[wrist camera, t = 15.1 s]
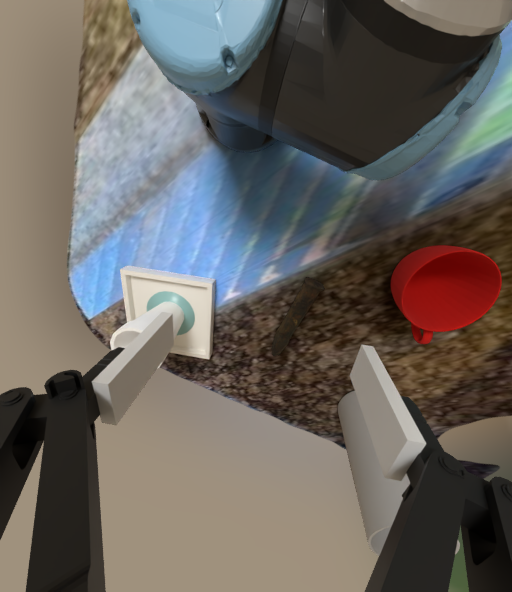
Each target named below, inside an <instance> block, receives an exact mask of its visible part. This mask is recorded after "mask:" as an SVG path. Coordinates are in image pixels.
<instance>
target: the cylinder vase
mask: <svg viewBox="0 0 512 592" xmlns="http://www.w3.org/2000/svg"><path fill="white" fill-rule="evenodd" d="M338 414H339V419H340V423H341V427H342V432H343V436H344V440H345V445H346V449H347V453H348V458H349V462H350V466H351V471H352V475H353V479H354V484H355V488H356V492H357V497H358V501H359V506H360V510H361V514H362V518H363V523H364V527H365V531H366V536H367V540H368V544H369V547H370V549H371V550H372V551H373V552H374V553H375V554H377V555H378V556H380V553H381V551H382V548H383V546H384V543H385V541H386V539H387V536H388V534H389V531H390V529H391V526H392V524H393V521H394V519H395V517H396V514H397V512H398V509H399V507H400V504H401V502H402V500H403V497H402V494H403V493H404V491H405V490H406V489H407V487H408V486H409V484H410V481H409V479H408V476H407V474H406V475H405V476H404V478H403V479H402V481H398V480H393V479H388V478H384V475H383V472H382V469H381V466H380V463H379V460H378V457H377V454H376V451H375V449H374V446H373V443H372V440H371V437H370V434H369V431H368V428H367V425H366V422H365V419H364V416H363V413H362V410H361V407H360V404H359V401H358V398H357V395H356V392H355V391H352V392H350V393H348V394H346V395H345V396H344V397H343V398H342V399H341V400H340V402H339V404H338ZM459 548H460V543H459V541H457V546H456V551H455V554H456V553H457V552H458V550H459Z"/></svg>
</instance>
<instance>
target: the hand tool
mask: <svg viewBox="0 0 512 592" xmlns="http://www.w3.org/2000/svg"><path fill="white" fill-rule="evenodd" d="M324 289H325V288H324V286H323V284H321V283H320V282H318V281H316V280H315V279H313V278H309V277H306V279H305V283H304V284H303V285H302V289H301V290H300V292H299V293H298V295H297V297H296V298H295V300H294V303H293V304H292V306H291V308H290V310H289V312H288V313H287V315H286V317H285V319H284V320H283V322H282V324H281V326H280V327H279V328H278V330H277V332H276V334H275V337H274V340H273V343H272V344H273V346H272V355H273V356H276V355H280V354H281V352H282V351H283V350H284V348H285V347H286V346H287V345H288V343H289V339H290V338H291V336H292V335H293V333H294V331H295V330H296V328H297V327H298V325H299V324H300V322H301V321H302V319H303V318H304V316H305V315H306V313H307V312H308V310H309V308H310V307H311V305H312V304H313V302H314V300H315V299H316V297H317V296H318V294H319V293H320V292H321V291H323V290H324Z"/></svg>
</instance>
